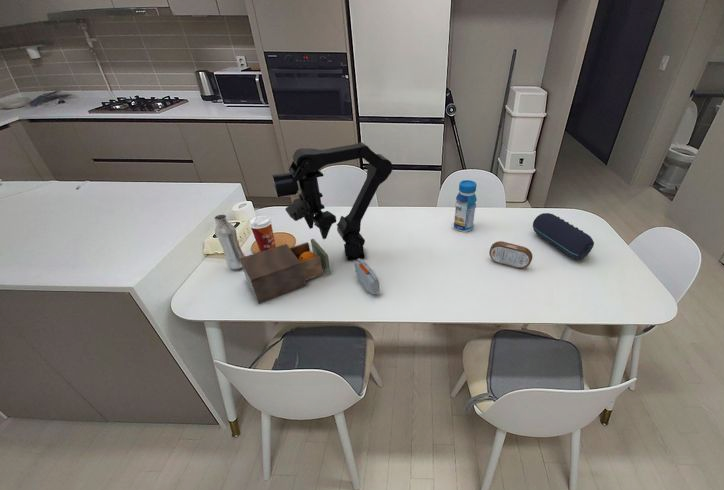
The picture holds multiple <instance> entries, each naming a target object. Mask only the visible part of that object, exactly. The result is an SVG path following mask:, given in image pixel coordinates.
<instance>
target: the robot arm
mask: <svg viewBox="0 0 724 490" xmlns="http://www.w3.org/2000/svg"><path fill="white" fill-rule="evenodd" d="M359 159H363V160H365V161H366V162H367V163H368V165H367V169H366V178H365V180H364V182H363V185H362V186H361V188H360V190H359V192H358V195H357V196H356V199H355V201H354V202H353V205H352V207H351V209H350V211H349V213H348V214H346V215H345V216H343V215H341V216H340V218H339V221H338V223H337V216H336V215H335V214H333V213H332V212H330V211H329V210H326V211H325V210H324V209H325V204H322V198H323V196H324V195H323V193H322V192H320V186H319V180H318V178H321V177H324V175H325V174H324V173H323V172H322V171H321V169H322V168H324V167H325V166H328V165H333V164H339V163H343V162H348V161H353V160H359ZM393 169H394V167H393V163H392V162H391V161H390V160H389V159H388V158H387V157H385V156H384V155H383V154H381V153H375V151H373V150H372V149H371V148H370V146H368V145H367V144H366V143H364V142H357V143H353V144H348V145H342V146H337V147H336V146H335V147H330V148H325V149H317V148H298V149H296V150H295V151H294V153H293V154H292V162H291V164H290V166H289V167H288V172H286V173H280V174H278V173H275V174H271V177H272V186H273V190H274V193H275V196H276V198H277V199H279V198H285V197H290V196H295V195H297V194H298V193H299V191H300V193H299V194H298V196H297V197H298V198H296V199H293V201H292V203H291V204H289V205H287V206H286V207H285V212H286V214H287V215H288V216H289V217H290V218H291V219H292V220H293V221H295V222H297V221H299V220H302V219H304V220H305V222H306V224H307V227H308V228H309V230H311V229H313V228H314V226H315V227H316V228H318V229H319V232H320V236H321V238H322V240H326V239H327V237H328V235H329V232H330V230H331V227H332V225H334V224H335V223H337V224H336V231H337V233H338V235H339V236H340V238H341V239H342V241H343V242H344V244H343V246H344V247H343V249H344V254H345V255H344V256H345V257H346V261H357V259H359V258H360V259H361V260H364V259H365V258H366V256H365V252H364V246H365V242H366V240H365V238H364V237H363V235H362V234H361V233H360V232H361V225H362V224H361V223H362V220H363V218H364V216H365V214H366V212H367V210H368V208H369V206H370V204H371V202H372V200H373V198H374V196H375V194H376V192H377V190H378V188H379V187H380V185H382V184H383V183H384V182H385V181H387V179H388V178H389V177H390V175H391V174H392V172H393ZM322 210H324V211H322Z"/></svg>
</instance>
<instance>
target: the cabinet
mask: <svg viewBox="0 0 724 490" xmlns="http://www.w3.org/2000/svg"><path fill="white" fill-rule="evenodd" d="M290 248H291V247H289V245H288V243H284V244H282V245H278V246H276V247H275V248H271V249H268V250H265V251H262V252H260V251H259V252H255V253H253V254H249V255H246V256H245V257H243V258H239V259H240V262H241V265H242V268H241V269H242V270H243V273H244V276H245V279H246V282H247V284H248V286H249V287H250V289H251V292H252V293H253V296H254V298H255V299H256V302H257V304H262V303H265V302H267V301H269V300H272V299H276V298H278V297H281V296H282V295H285V294H288V293H291V292H295V291H296V290H299V289H302V288H304V287H306V286H307V285H306V280H305V279H304V275H303V271H302V266H301V263H300V261H299V260H298V259H297V257H296V256H295V255H294V253H293V252H292V251H291V249H290Z"/></svg>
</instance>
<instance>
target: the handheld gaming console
mask: <svg viewBox="0 0 724 490" xmlns="http://www.w3.org/2000/svg"><path fill="white" fill-rule="evenodd" d="M353 264H354V269H355V270H354V271H355V274H356V275H357V278H358V281H359V283H360V285H361V286H362V287H363V288H364V290H366V291H367V293H370V294H371V295H377V294H379V293H380V291H381V290H380V281H379V277H378V276H377V274H376V273H375V271H374V270H373V269H372V268H371V266H370V265H369V264H368V263H367V262H366V261H365V260H364V259H360V258H359V259H357V260H355V261H354V262H353Z"/></svg>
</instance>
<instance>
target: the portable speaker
mask: <svg viewBox="0 0 724 490" xmlns="http://www.w3.org/2000/svg"><path fill="white" fill-rule="evenodd" d="M532 229H533V231H534V233H535V234H536V235H537V236H538V237H540V238H541V239H543V240H544V241H546V242H547V243H548V244H550V245H552V246H553V247H555V248H557V249H558V251H559V250H560V251H561V252H562V253H564V254H565V255H566V256H568V257H570V258H572V259H573V260H576V261H581V260H583V259H585V257H587V256H588V255H589V254H590V253H591V251H592V249H593V248H594V246H595V245H594V244H595V242H594V239H593V238H592V236H591V235H589V234H588V233H586V232H584V231H583V229H579V228H578V227H577V226H574V224H571V223H570V222H569V221H565V219H563V218H561V217H560V216H557V215H555V214H554V213H549V212H544V213H540V214H538V215H537V216H536V217H535V218H534V220H533V222H532Z"/></svg>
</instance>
